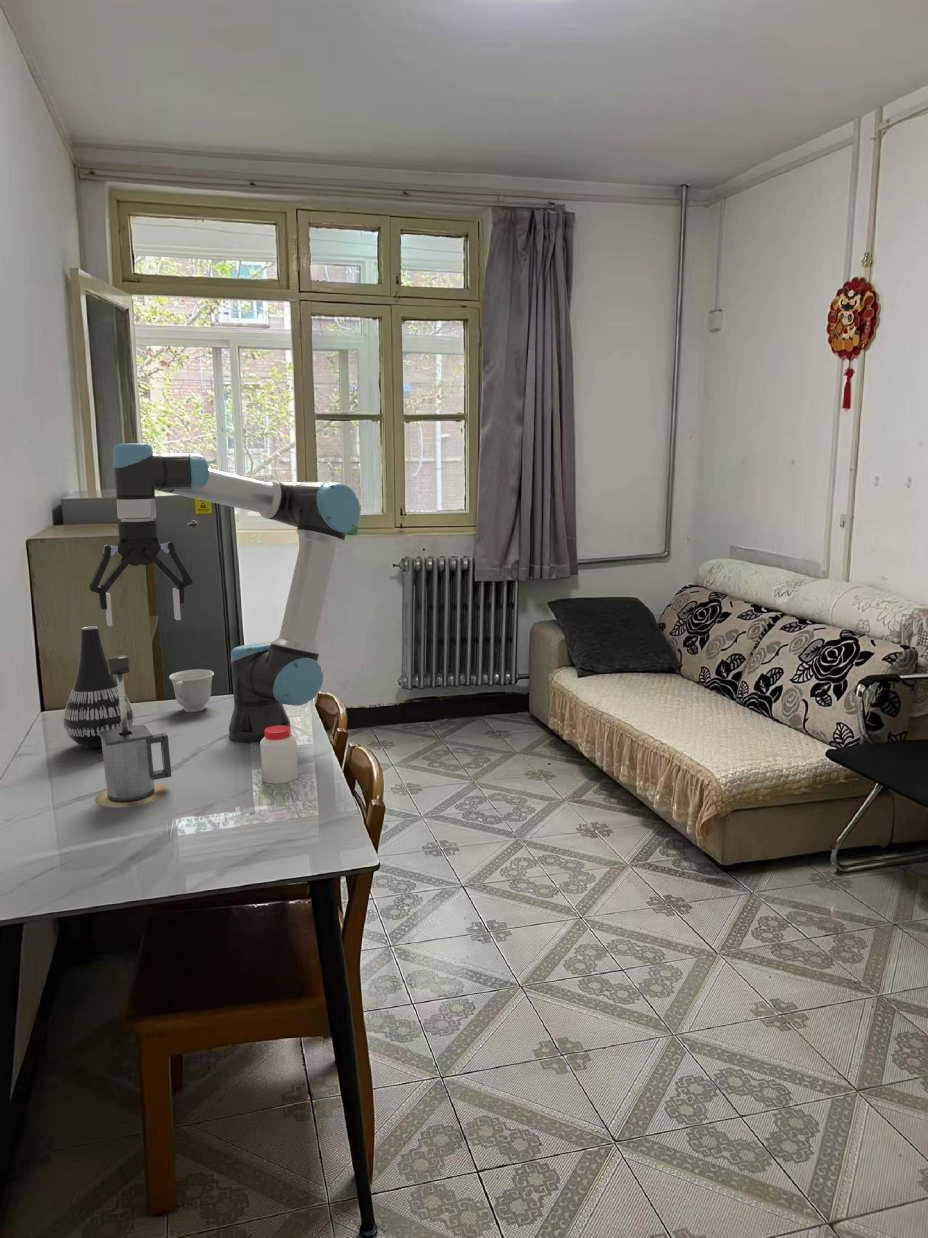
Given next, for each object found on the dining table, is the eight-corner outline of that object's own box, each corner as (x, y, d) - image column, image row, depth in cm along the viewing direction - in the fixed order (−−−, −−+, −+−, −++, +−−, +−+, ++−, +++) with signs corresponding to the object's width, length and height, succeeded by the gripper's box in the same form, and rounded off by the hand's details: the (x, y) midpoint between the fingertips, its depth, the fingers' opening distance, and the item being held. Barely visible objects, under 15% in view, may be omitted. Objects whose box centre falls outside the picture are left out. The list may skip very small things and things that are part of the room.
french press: (166, 780, 199) (161, 721, 196) (176, 793, 191) (170, 732, 188) (104, 792, 192) (98, 731, 190) (111, 806, 185) (105, 743, 182)
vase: (136, 732, 236) (125, 619, 231) (135, 751, 221) (123, 630, 216) (69, 740, 231) (57, 624, 226) (63, 759, 217) (50, 636, 211)
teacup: (158, 718, 249) (155, 682, 247) (184, 703, 263) (181, 668, 261) (200, 719, 247) (197, 682, 245) (223, 703, 261) (221, 669, 259)
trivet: (159, 781, 200) (159, 777, 200) (173, 801, 188) (173, 798, 188) (90, 794, 194) (90, 790, 193) (101, 816, 182) (100, 812, 181)
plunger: (141, 742, 194) (133, 652, 190) (148, 751, 188) (140, 658, 184) (105, 748, 190) (96, 656, 187) (111, 758, 184) (102, 663, 181)
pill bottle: (305, 774, 203) (302, 725, 201) (284, 785, 196) (281, 736, 194) (276, 769, 206) (273, 722, 204) (255, 781, 199) (251, 732, 197)
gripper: (194, 516, 198) (200, 614, 202) (69, 521, 186) (77, 624, 190) (203, 518, 192) (208, 619, 195) (73, 523, 180) (82, 630, 183)
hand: (144, 622), depth 192 cm, fingers open, 13 cm apart
